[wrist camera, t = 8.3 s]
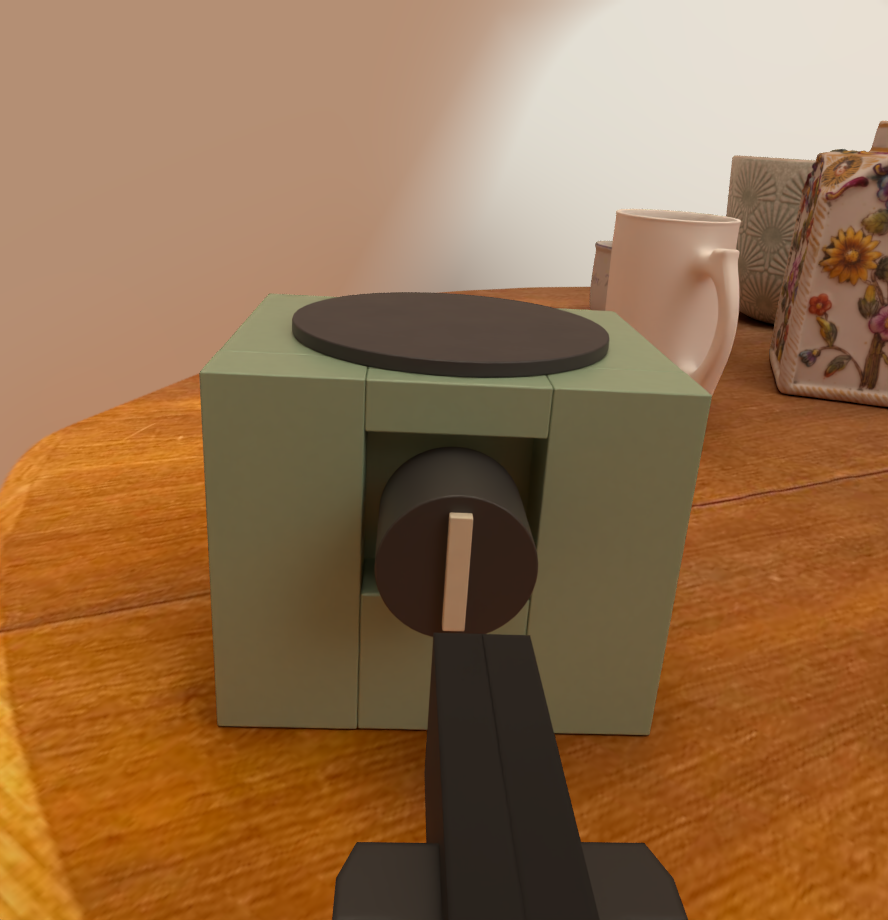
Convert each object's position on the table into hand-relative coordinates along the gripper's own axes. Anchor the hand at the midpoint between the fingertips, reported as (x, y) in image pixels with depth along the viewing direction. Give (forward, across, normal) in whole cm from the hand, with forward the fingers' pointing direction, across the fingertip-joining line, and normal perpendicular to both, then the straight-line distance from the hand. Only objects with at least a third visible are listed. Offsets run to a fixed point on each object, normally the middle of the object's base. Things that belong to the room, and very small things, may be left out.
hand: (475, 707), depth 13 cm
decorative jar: (+47, +32, -7) cm, 57 cm away
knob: (+7, 0, -2) cm, 7 cm away
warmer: (+13, 0, -7) cm, 15 cm away
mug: (+35, +14, -7) cm, 38 cm away
